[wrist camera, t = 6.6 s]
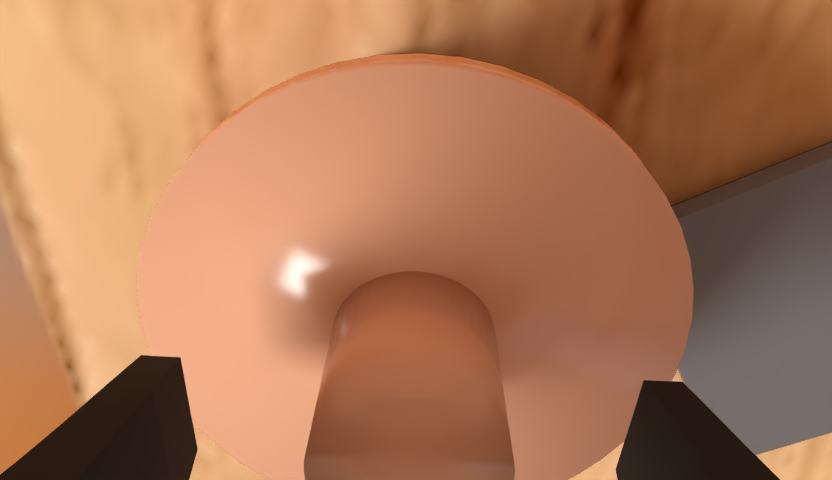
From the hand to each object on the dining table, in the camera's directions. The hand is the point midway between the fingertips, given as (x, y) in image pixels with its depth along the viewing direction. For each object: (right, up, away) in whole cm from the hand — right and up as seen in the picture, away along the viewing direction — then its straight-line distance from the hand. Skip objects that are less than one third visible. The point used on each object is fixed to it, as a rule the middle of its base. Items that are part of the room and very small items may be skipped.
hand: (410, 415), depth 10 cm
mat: (+11, +1, +7) cm, 13 cm away
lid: (0, +1, +2) cm, 3 cm away
